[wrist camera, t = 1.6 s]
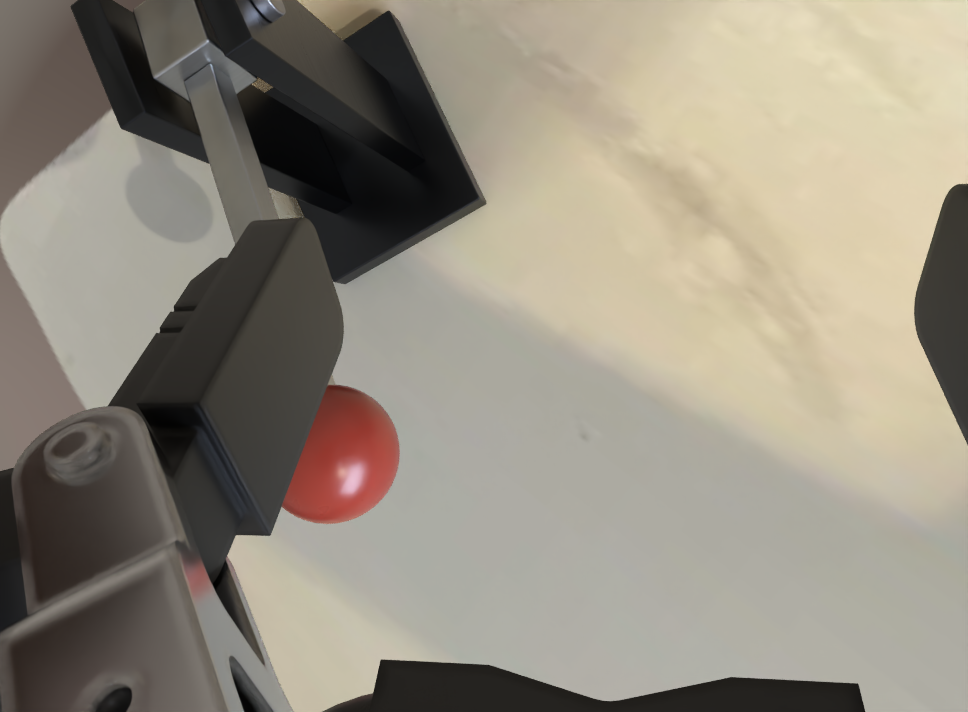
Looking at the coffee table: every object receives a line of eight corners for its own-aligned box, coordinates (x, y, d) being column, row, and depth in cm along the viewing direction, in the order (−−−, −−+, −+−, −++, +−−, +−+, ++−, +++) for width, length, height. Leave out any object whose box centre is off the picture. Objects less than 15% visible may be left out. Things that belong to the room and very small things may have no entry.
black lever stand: (487, 203, 35) (334, 94, 21) (344, 285, 37) (115, 235, 23) (399, 20, 36) (198, -201, 22) (265, 108, 38) (3, -43, 24)
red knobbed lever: (440, 490, 21) (376, 490, 17) (332, 541, 22) (251, 549, 18) (264, 13, 26) (188, -57, 22) (182, 70, 27) (98, 10, 23)
